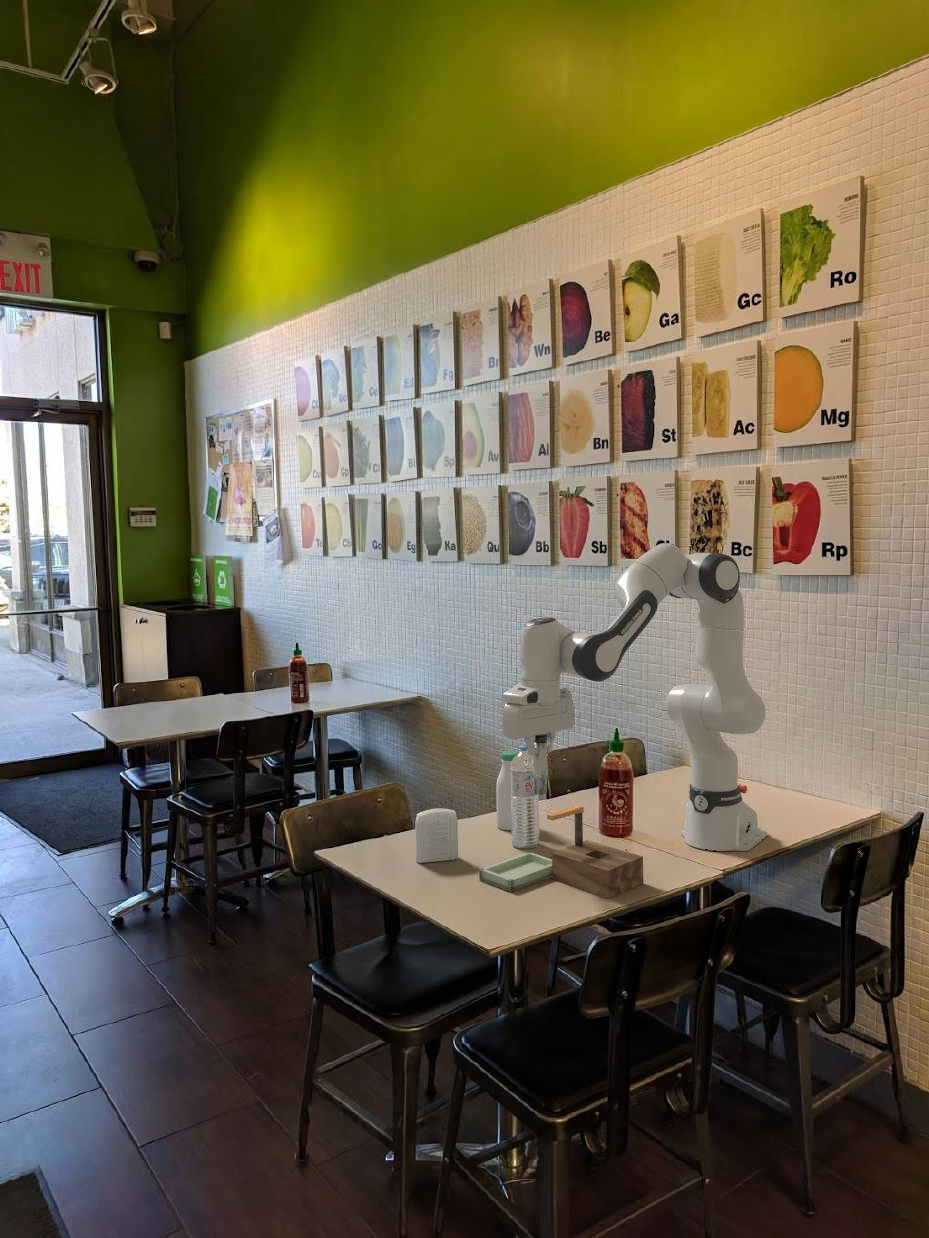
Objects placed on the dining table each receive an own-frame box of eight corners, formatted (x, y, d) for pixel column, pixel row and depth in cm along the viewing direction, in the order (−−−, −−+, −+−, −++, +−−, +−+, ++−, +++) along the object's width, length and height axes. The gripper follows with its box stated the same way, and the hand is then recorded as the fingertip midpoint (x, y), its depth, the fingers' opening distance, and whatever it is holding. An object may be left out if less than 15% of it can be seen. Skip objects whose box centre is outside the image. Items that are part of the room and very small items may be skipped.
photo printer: (456, 854, 222) (454, 804, 220) (460, 860, 217) (458, 809, 216) (414, 859, 219) (412, 808, 218) (417, 865, 215) (416, 813, 214)
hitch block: (587, 865, 212) (586, 807, 211) (643, 883, 200) (642, 822, 199) (552, 878, 204) (551, 819, 203) (608, 898, 192) (607, 835, 191)
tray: (529, 862, 215) (529, 851, 215) (561, 872, 207) (560, 862, 207) (479, 880, 204) (479, 869, 204) (511, 892, 197) (510, 880, 197)
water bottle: (517, 851, 223) (515, 750, 221) (508, 842, 229) (506, 744, 227) (543, 848, 225) (541, 748, 222) (533, 839, 231) (532, 742, 229)
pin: (539, 790, 205) (539, 733, 204) (549, 793, 202) (549, 735, 202) (530, 793, 203) (530, 735, 202) (540, 795, 200) (540, 737, 200)
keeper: (578, 809, 209) (578, 805, 209) (585, 811, 207) (585, 807, 207) (545, 818, 203) (545, 814, 203) (553, 821, 201) (553, 816, 201)
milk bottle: (531, 828, 240) (529, 754, 238) (504, 833, 237) (502, 757, 235) (518, 820, 247) (517, 748, 245) (492, 824, 244) (490, 751, 242)
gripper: (560, 685, 210) (560, 744, 211) (497, 694, 197) (497, 758, 197) (581, 688, 206) (581, 749, 207) (518, 698, 192) (518, 762, 193)
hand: (539, 753), depth 202 cm, fingers closed on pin, 3 cm apart
